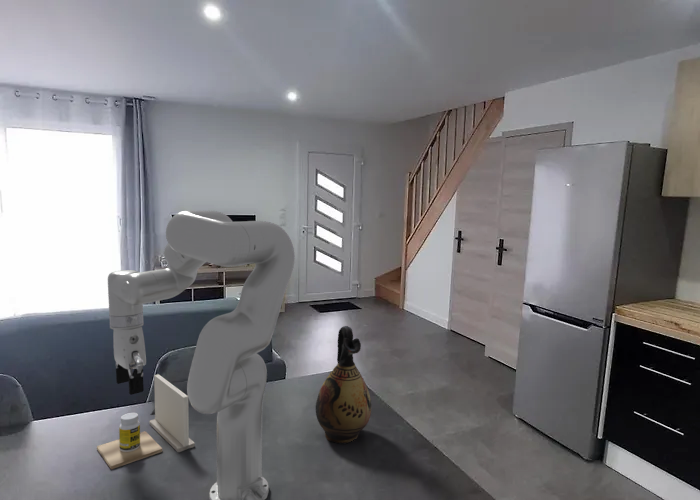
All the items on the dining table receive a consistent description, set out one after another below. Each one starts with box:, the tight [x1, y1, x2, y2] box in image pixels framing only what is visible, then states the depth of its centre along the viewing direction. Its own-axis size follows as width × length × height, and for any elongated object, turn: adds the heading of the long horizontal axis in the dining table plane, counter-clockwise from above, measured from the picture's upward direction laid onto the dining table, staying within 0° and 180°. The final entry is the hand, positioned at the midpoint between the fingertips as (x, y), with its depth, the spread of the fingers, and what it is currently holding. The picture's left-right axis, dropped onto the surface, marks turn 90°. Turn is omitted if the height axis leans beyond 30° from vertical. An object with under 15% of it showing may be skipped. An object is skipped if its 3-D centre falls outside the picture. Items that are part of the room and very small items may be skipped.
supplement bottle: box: [118, 412, 141, 452], centre depth 115 cm, size 5×5×8 cm
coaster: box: [96, 430, 163, 470], centre depth 115 cm, size 12×12×1 cm
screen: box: [148, 373, 196, 453], centre depth 123 cm, size 20×4×14 cm, turn 43°
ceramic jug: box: [315, 325, 373, 445], centre depth 125 cm, size 17×15×30 cm
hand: (129, 387), depth 113 cm, fingers open, 9 cm apart
